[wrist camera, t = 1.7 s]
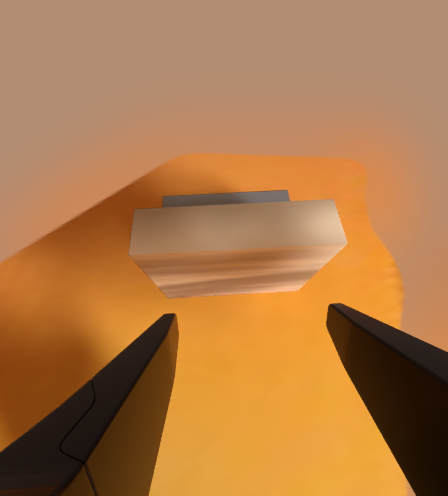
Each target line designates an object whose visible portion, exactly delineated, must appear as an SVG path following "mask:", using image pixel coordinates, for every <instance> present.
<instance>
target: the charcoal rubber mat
mask: <svg viewBox="0 0 448 496" xmlns="http://www.w3.org/2000/svg"><path fill="white" fill-rule="evenodd" d="M287 201H290V200H289V195H288V191H287V190H281V191H261V192H240V193H220V194H199V195H179V196H163V208H167V207H187V206H207V205H227V204H247V203H267V202H287Z"/></svg>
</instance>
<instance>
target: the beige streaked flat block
mask: <svg viewBox="0 0 448 496" xmlns="http://www.w3.org/2000/svg"><path fill="white" fill-rule="evenodd" d="M347 244H348V243H347V240H346V237H345V233H344V230H343V227H342V224H341V221H340V218H339V214H338V211H337V208H336V205H335V202H334V199H327V200H307V201H287V202H267V203H247V204H227V205H207V206H187V207H167V208H147V209H134V215H133V223H132V231H131V239H130V247H129V256H130V257H131V259H132V260H133V261H134V262H135V263H136V264H137V265H138V266H139V267H140V268H141V269H142V270H143V272H144V273H145V274H146V275H147V276H148V277H149V278H150V279H151V280H152V281H153V282H154V283H155V284H156V286H157V287H158V288H159V289H160V290H161V291H162V292H163V293H164V294H165V295H166V296H167V297H168V298H184V297H201V296H218V295H235V294H252V293H269V292H286V291H298V290H299V289H300V288H301V287H302V286H303V285H304V284H305V283H306V282H307V281H308V280H309V279H311V278H312V277H313V276H314V275H315V274H316V273H317V272H318V271H319V270H320V269H321V268H322V267H323V266H324V265H325V264H326V263H327V262H329V261H330V260H331V259H332V258H333V257H334V256H335V255H336V254H337V253H338V252H339V251H340V250H341V249H342V248H343V247H344V246H345V245H347Z"/></svg>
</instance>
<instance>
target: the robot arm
mask: <svg viewBox="0 0 448 496" xmlns="http://www.w3.org/2000/svg"><path fill="white" fill-rule="evenodd" d="M326 325H327V329H328V332H329V334H330V336H331V338H332V341H333V343H334V345H335V348H336V350H337V352H338V355H339V357H340V359H341V362H342V364H343V366H344V368H345V370H346V372H347V373H348V375H349V377H350V379H351V381H352V382H353V384H354V386H355V388H356V390H357V391H358V393H359V395H360V397H361V398H362V400H363V402H364V404H365V406H366V407H367V409H368V411H369V413H370V414H371V416H372V418H373V420H374V422H375V423H376V425H377V427H378V429H379V430H380V432H381V434H382V436H383V438H384V439H385V441H386V443H387V445H388V447H389V448H390V450H391V452H392V454H393V455H394V457H395V459H396V461H397V463H398V464H399V466H400V468H401V470H402V471H403V473H404V475H405V477H406V479H407V480H408V482H409V484H410V486H411V487H412V489H413V491H414V493H415V495H416V496H448V352H446V351H444V350H442V349H439V348H437V347H435V346H433V345H431V344H429V343H426V342H424V341H422V340H420V339H418V338H415V337H413V336H411V335H409V334H407V333H405V332H403V331H400V330H398V329H396V328H394V327H392V326H389V325H387V324H385V323H383V322H381V321H379V320H376V319H374V318H372V317H370V316H368V315H366V314H363V313H361V312H359V311H357V310H355V309H353V308H350V307H348V306H346V305H344V304H342V303H334V304H330V305H329V306H328V313H327V321H326ZM178 340H179V331H178V324H177V316H176V314H175V313H170V314H164V315H163V316H161V317H160V318H159V319H158V320H157V321H156V322H155V323H154V324H152V325H151V326H150V327H149V328H148V329H147V330H146V331H144V332H143V333H142V334H141V335H140V336H139V337H138V338H137V339H135V340H134V341H133V342H132V343H131V344H130V345H129V346H128V347H126V348H125V349H124V350H123V351H122V352H121V353H120V354H119V355H117V356H116V357H115V358H114V359H113V360H112V361H111V362H109V363H108V364H107V365H106V366H105V367H104V368H103V369H102V370H100V371H99V372H98V373H97V374H96V375H95V376H94V377H93V378H92V380H89V381H88V382H87V383H86V384H85V385H83V386H82V387H81V388H80V389H79V390H78V391H77V392H75V393H74V394H73V395H72V396H71V397H69V398H68V399H67V400H66V401H65V402H64V403H62V404H61V405H60V406H59V407H58V408H56V409H55V410H54V411H53V412H51V413H50V414H49V415H48V416H46V417H45V418H44V419H42V420H41V421H40V422H39V423H37V424H36V425H35V426H34V427H32V428H31V429H30V430H28V431H27V432H26V433H25V434H23V435H22V436H21V437H19V438H18V439H17V440H15V441H14V442H13V443H12V444H10V445H9V446H8V447H6V448H5V449H4V450H3V451H1V452H0V496H149V491H150V487H151V482H152V478H153V473H154V469H155V464H156V460H157V455H158V451H159V446H160V442H161V437H162V433H163V428H164V424H165V419H166V415H167V410H168V406H169V401H170V397H171V392H172V388H173V383H174V377H175V369H176V359H177V349H178Z"/></svg>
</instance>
